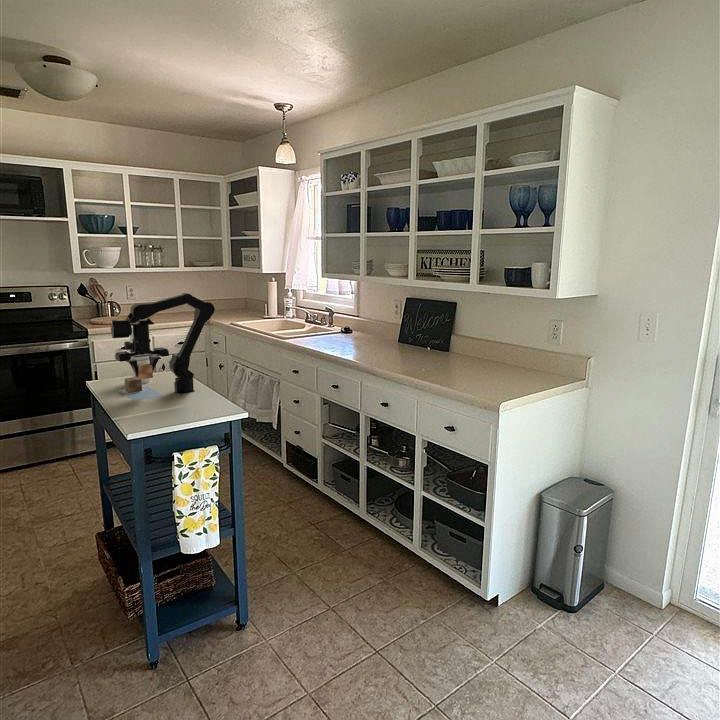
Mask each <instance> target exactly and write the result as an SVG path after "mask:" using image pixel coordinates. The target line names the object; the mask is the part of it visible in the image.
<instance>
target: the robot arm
mask: <svg viewBox="0 0 720 720" xmlns="http://www.w3.org/2000/svg"><path fill="white" fill-rule="evenodd" d="M184 305H188V306H190V307H191V308H193V309H194V312H193V313H194V314H193V321H192V323H191V325H190V328H189V330H188V333H187V334H186V336H185V339H184V340H183V344H181V348H180V350H179V352H178V353H177V354H174V353H172V356H171V358H170V360H169V361H168V364H169V365H168V367H169V368H168V369H169V370H170V372H171V373H172V374H174V376H175V378H174V379H175V381H174V383H173V385H174V392H175V393H176V394H180V395H183V394H189V393H195V392H196V390H194V376H195V374H194V372H193V371H190V370H189V367H190V363H191V362H190V361H191V359H190V358H191V355H192V352H193V351H194V349H195V346H196V344H197V342H198V339H199V338H200V335H201V333H202V330H203V328H204V326H205V325H206V323H208V322H209V320H210V319H211V318H212V317H213V315H214V313H215V308H216V307H215V306H214V304H213V303H212V302H209V301H205V300H201V299H199V298H197V297H195V296H193V295H192V294H191V293H187V292H184V293H182V294H179V295H175V296H171V297H167V298H163V299H160V300H156V301H151V302H150V301H148V302H138V303H134V304H133V305H132V306H131V307H130V312H129V314H128V315H127V317H126V318H125V319H120V320H117V319H112V320H111V325H110V334H111V338H112V339H123V338H124V339H125V338H130V335H132V326H133V342H132V343H131V342H130V340H129V341H124V342H123V343H124V351H117V352H116V353H115V354H114V358H115V360H116V361H118V362H126V363H128V364H129V365H130V366H131V369H132V372H133V371H134V373H135V375H136V377H138V366H137V361H136V360H135V357H143V356H149V361H150V365H152V371H153V372H154V371H155V368H156V366H157V364H158V362H159V360H161V359H162V358H164V357H169V356H170V351H169V349H168V348H165V347H163V346H161V347H154V349H153V350H152V349H151V342H152V341H151V339H150V325H153V326H154V325H155V322H154V321H152V320H151V318H150V317H152V316H154V315H155V314H157V313H159V312H162V311H165V310H169V309H174V308H176V307H180V306H184ZM133 352H134V353H133Z"/></svg>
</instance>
